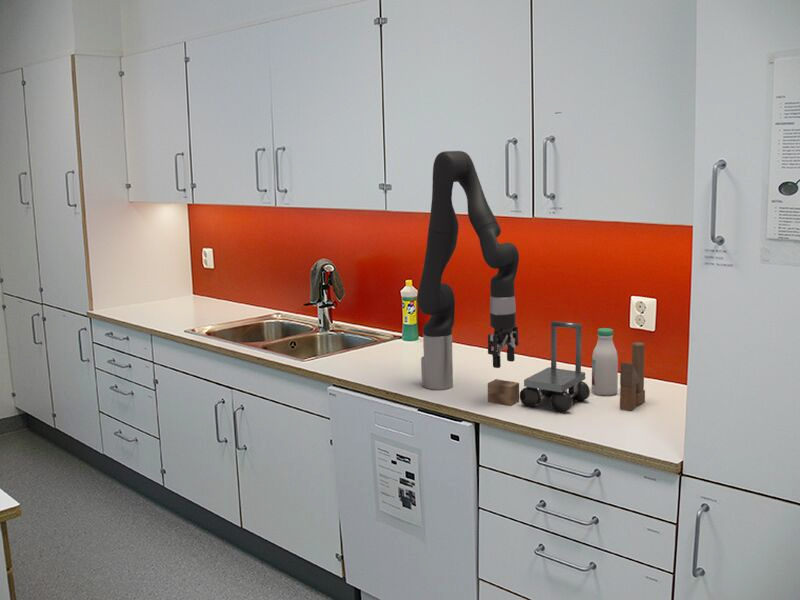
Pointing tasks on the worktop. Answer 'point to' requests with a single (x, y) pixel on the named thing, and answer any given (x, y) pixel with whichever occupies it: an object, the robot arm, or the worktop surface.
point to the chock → (503, 392)
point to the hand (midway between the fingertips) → (503, 364)
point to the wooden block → (633, 379)
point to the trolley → (557, 378)
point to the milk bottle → (605, 364)
